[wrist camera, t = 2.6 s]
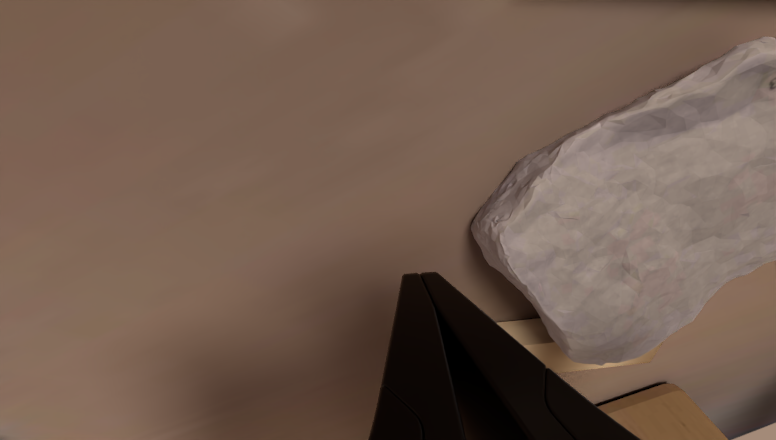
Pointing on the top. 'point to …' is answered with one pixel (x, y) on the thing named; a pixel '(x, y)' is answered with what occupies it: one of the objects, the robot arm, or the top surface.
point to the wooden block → (662, 415)
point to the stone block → (643, 210)
